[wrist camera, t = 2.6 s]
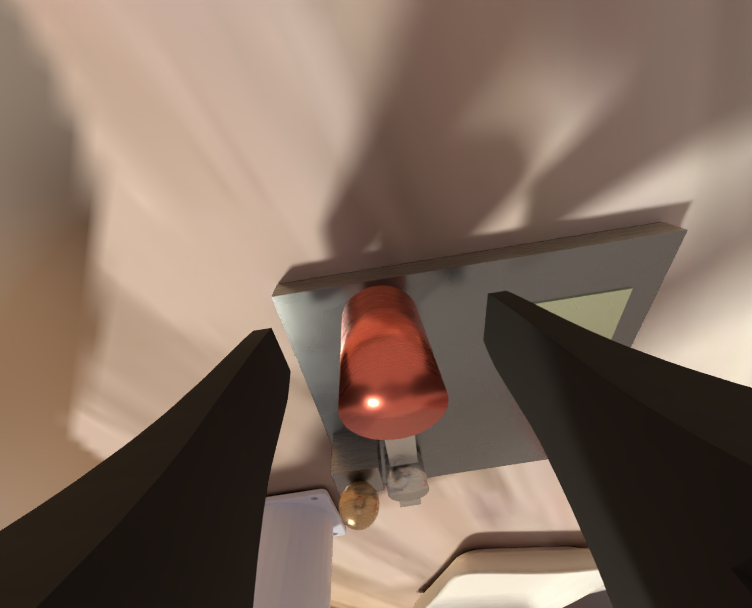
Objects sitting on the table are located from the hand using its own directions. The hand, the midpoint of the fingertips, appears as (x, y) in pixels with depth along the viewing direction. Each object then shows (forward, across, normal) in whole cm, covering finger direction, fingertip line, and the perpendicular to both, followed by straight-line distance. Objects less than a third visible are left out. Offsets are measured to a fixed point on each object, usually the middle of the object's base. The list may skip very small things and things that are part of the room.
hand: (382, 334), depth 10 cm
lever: (+2, 0, +7) cm, 8 cm away
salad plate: (+4, -10, +45) cm, 46 cm away
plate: (+3, -4, +7) cm, 9 cm away
